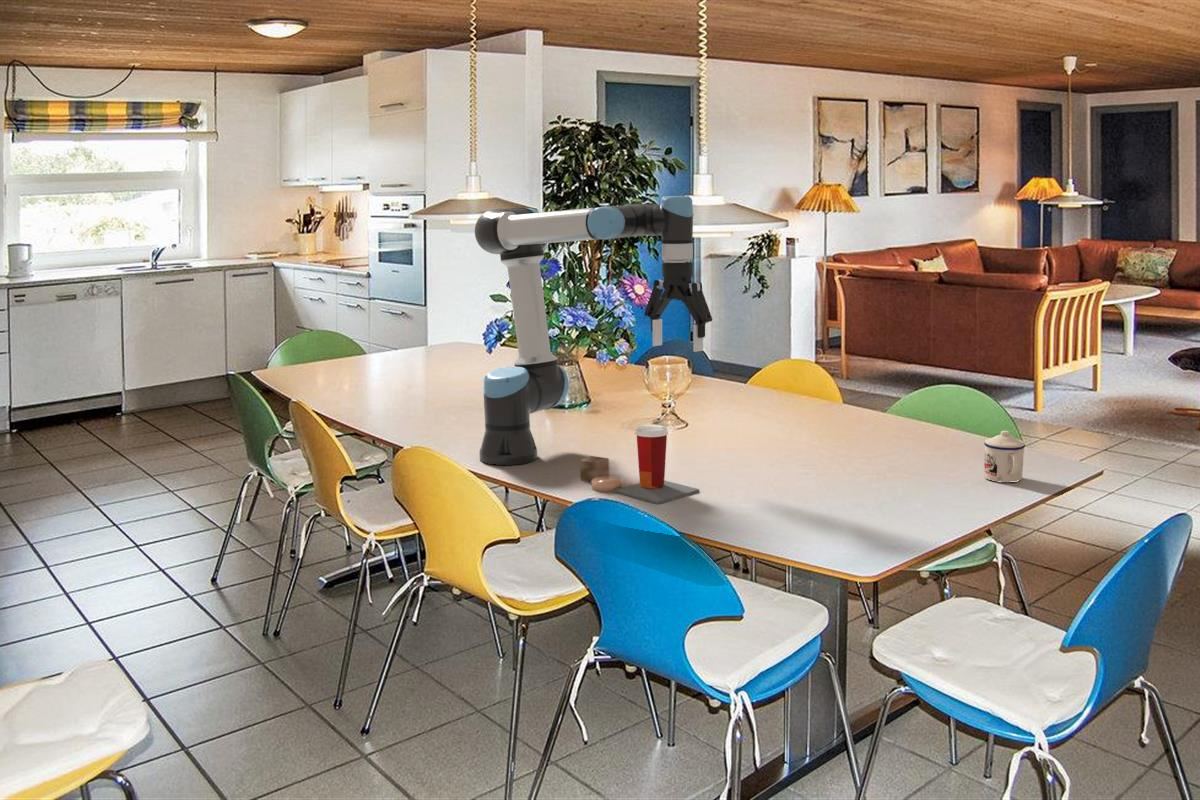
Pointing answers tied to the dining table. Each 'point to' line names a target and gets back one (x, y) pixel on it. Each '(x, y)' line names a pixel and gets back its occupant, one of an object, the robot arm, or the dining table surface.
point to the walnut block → (594, 468)
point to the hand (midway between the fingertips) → (677, 348)
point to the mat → (657, 492)
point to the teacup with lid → (1003, 458)
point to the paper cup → (651, 455)
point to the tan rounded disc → (606, 483)
